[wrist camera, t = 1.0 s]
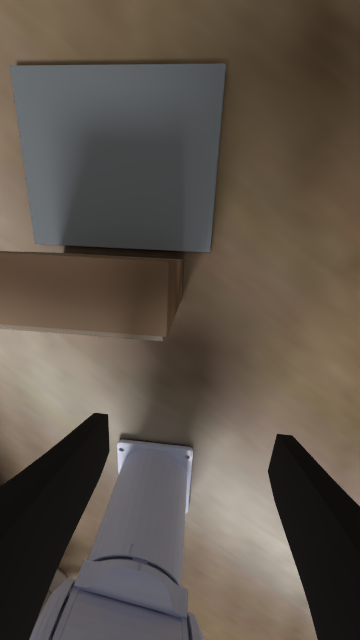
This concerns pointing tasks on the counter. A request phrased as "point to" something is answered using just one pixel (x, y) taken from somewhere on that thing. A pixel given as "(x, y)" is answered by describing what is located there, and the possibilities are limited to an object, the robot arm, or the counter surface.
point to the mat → (121, 153)
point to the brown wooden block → (90, 294)
